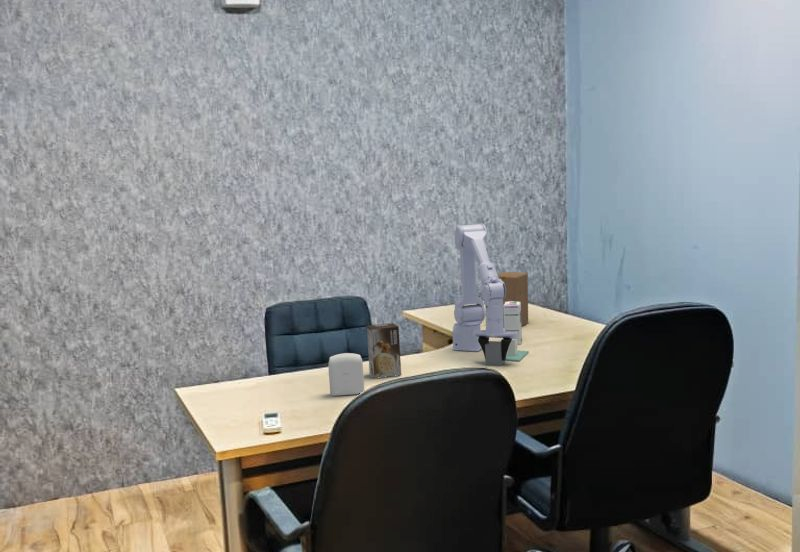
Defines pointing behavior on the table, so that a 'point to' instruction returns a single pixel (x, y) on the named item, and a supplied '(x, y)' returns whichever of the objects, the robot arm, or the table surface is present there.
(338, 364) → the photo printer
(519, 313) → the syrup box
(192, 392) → the table surface
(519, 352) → the teal base stand
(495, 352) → the dark grey block
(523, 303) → the wooden block
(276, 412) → the table surface
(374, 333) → the coffee box
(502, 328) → the robot arm
